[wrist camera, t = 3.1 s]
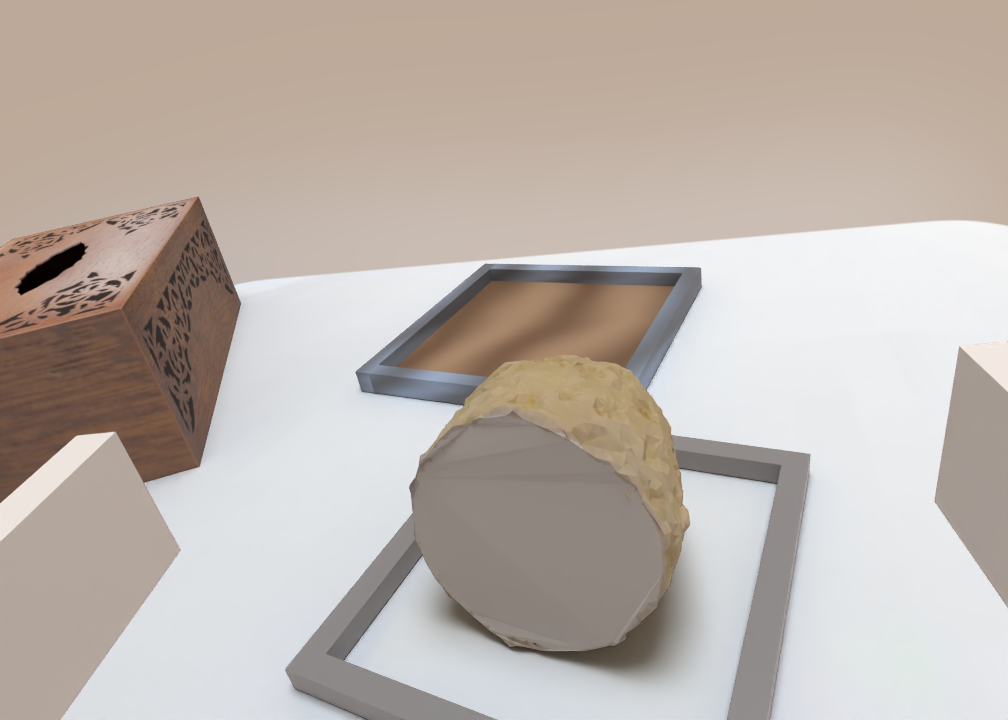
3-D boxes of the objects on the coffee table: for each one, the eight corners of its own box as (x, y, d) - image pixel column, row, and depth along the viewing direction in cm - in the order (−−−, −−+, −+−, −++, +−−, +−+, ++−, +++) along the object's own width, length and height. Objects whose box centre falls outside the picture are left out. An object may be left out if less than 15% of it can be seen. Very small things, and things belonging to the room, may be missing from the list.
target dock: (361, 391, 41) (355, 371, 41) (488, 279, 54) (484, 263, 53) (626, 426, 33) (624, 403, 33) (701, 286, 46) (700, 267, 45)
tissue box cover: (201, 470, 37) (121, 308, 32) (-79, 550, 35) (-208, 390, 30) (241, 306, 59) (198, 196, 55) (73, 349, 57) (12, 239, 53)
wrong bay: (294, 687, 23) (284, 669, 23) (499, 426, 35) (495, 411, 35) (743, 880, 16) (743, 860, 16) (809, 472, 28) (810, 454, 28)
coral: (298, 540, 20) (426, 286, 25) (455, 643, 27) (529, 429, 32) (600, 609, 15) (683, 275, 20) (694, 712, 22) (737, 447, 27)
